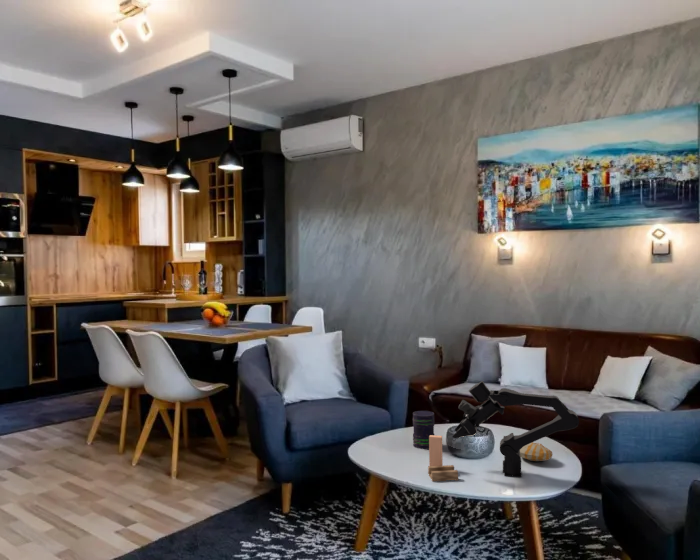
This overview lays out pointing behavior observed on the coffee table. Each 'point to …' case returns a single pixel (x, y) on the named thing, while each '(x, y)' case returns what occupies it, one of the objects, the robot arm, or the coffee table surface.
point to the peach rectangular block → (435, 450)
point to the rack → (442, 473)
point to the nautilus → (535, 452)
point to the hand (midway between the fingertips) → (454, 433)
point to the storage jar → (422, 428)
